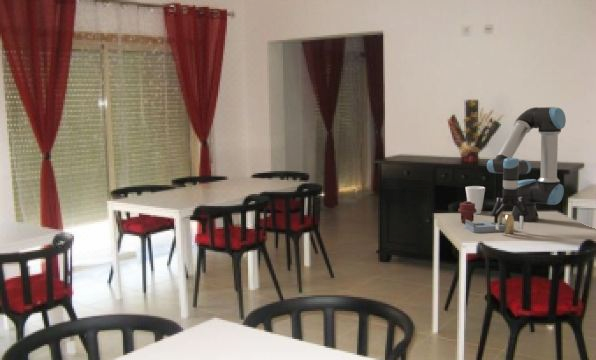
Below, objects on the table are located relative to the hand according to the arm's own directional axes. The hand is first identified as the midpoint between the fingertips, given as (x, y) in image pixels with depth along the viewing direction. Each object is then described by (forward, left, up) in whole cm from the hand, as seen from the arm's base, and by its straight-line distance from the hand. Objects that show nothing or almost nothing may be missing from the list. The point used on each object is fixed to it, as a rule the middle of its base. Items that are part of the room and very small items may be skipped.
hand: (509, 228), depth 327 cm
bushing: (0, 0, -3) cm, 3 cm away
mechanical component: (+11, -31, -3) cm, 33 cm away
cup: (-5, -60, -3) cm, 60 cm away
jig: (+6, -12, -3) cm, 14 cm away
